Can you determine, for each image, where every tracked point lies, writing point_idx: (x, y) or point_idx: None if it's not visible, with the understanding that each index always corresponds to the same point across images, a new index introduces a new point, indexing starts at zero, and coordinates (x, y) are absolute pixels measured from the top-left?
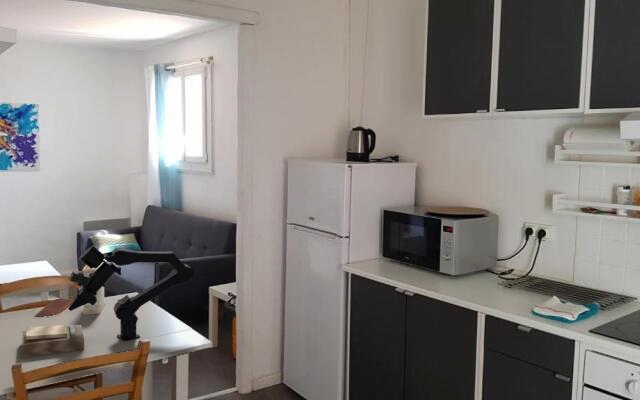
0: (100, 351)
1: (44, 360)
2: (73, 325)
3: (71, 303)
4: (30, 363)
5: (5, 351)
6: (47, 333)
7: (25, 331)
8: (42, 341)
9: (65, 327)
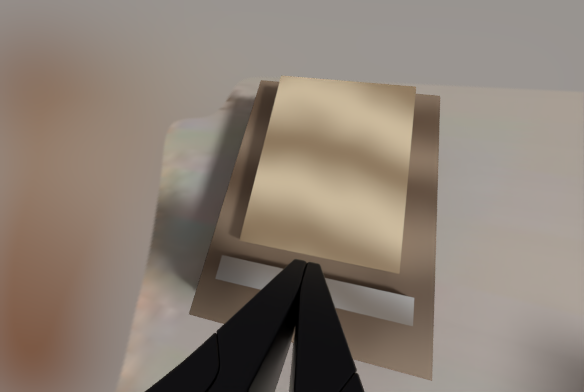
0: (154, 361)
1: (206, 162)
2: (384, 316)
3: (312, 309)
4: (209, 127)
5: (357, 81)
6: (281, 156)
7: (431, 104)
8: (253, 143)
9: (349, 258)
